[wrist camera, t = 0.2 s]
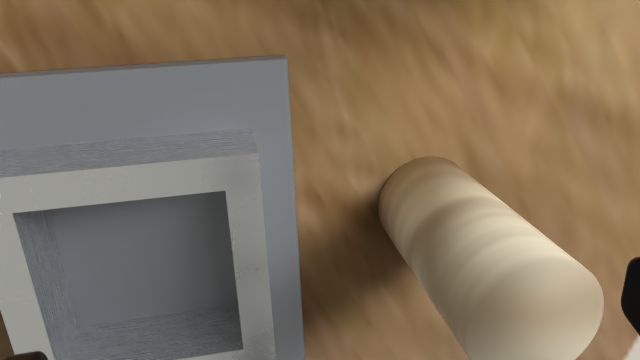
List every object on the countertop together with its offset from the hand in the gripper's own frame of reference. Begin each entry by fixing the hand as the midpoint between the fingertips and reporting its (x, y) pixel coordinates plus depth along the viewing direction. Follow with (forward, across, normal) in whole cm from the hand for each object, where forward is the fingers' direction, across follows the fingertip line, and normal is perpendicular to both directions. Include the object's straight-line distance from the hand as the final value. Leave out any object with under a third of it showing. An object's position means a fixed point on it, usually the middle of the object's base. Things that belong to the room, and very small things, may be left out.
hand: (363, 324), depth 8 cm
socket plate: (+14, +5, +5) cm, 16 cm away
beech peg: (+14, -7, +5) cm, 16 cm away
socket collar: (+14, +5, +5) cm, 16 cm away
